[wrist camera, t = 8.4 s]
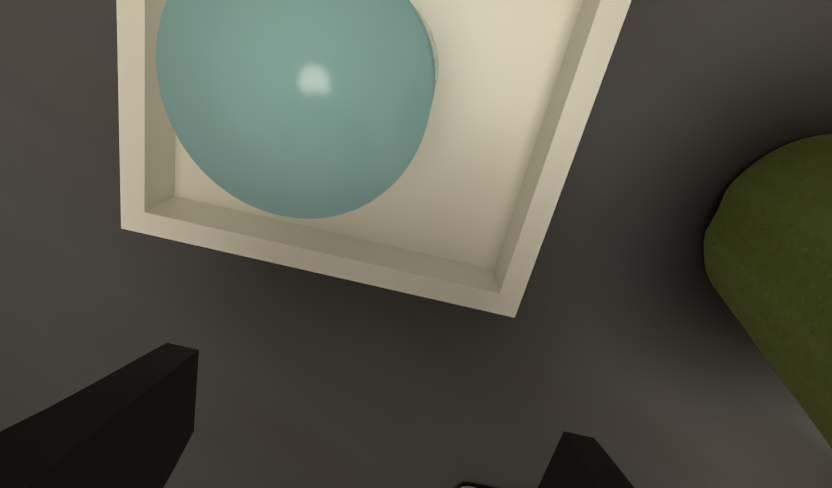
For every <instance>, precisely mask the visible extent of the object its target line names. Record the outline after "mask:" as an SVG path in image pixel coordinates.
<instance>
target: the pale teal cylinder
mask: <svg viewBox="0 0 832 488" xmlns="http://www.w3.org/2000/svg"><path fill="white" fill-rule="evenodd" d="M156 72H157V79H158V85H159V90H160V95H161V98H162V101H163V105H164V108H165V111H166V114H167V116H168V118H169V121H170V123H171V126H172V128H173V130H174V132H175V133H176V135H177V137H178V139H179V140H180V142H181V144H182V146H183V147H184V148H185V150H186V151H187V153H188V154H189V155H190V157H191V158H192V160H193V161H194V162H195V163H196V164H197V165H198V166H199V168H200V169H201V170H202V171H203V172H204V173H205V174H206V175H207V176H208V177H209V178H210V179H211V180H213V181H214V182H215V183H216V184H217V185H218V186H220V187H221V188H222V189H224V190H225V191H226V192H228V193H229V194H231V195H232V196H234V197H235V198H237V199H239V200H241V201H242V202H244V203H246V204H248V205H250V206H253V207H255V208H257V209H260V210H262V211H265V212H269V213H272V214H275V215H279V216H285V217H291V218H302V219H315V218H327V217H332V216H337V215H341V214H344V213H347V212H350V211H353V210H356V209H358V208H360V207H362V206H364V205H366V204H368V203H370V202H371V201H373V200H374V199H376V198H377V197H379V196H380V195H382V194H383V193H384V192H385V191H386V190H387V189H389V188H390V187H391V186H392V185H393V184H394V183H395V182H396V181H397V180H398V179H399V177H400V176H401V175H402V174H403V173H404V171H405V170H406V169H407V167H408V166H409V164H410V163H411V161H412V159H413V158H414V156H415V154H416V152H417V150H418V148H419V146H420V144H421V141H422V139H423V136H424V133H425V129H426V126H427V123H428V119H429V115H430V110H431V106H432V101H433V97H434V93H435V88H436V84H437V78H438V53H437V48H436V44H435V41H434V38H433V35H432V32H431V30H430V28H429V26H428V24H427V22H426V21H425V19H424V18H423V16H422V15H421V14H420V12H419V11H418V10H417V9H416V8H415V7H414V5H413V4H412V3H411V2H410V1H409V0H166V3H165V5H164V8H163V11H162V14H161V17H160V22H159V27H158V32H157V41H156Z"/></svg>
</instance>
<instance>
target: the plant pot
mask: <svg viewBox="0 0 832 488" xmlns="http://www.w3.org/2000/svg"><path fill="white" fill-rule="evenodd" d="M704 265H705V269H706V273H707V275H708V278H709V280H710V282H711V283H712V285H713V287H714V288H715V289H716V291H717V292H718V294H719V295H720V296H721V298H722V299H723V300H724V302H725V303H726V305H727V306H728V307H729V309H730V310H731V311H732V313H733V314H734V315H735V317H736V318H737V319H738V321H739V322H740V323H741V325H742V326H743V327H744V329H745V330H746V332H747V333H748V334H749V336H750V337H751V338H752V340H753V341H754V343H755V344H756V345H757V347H758V348H759V350H760V351H761V352H762V354H763V355H764V356H765V358H766V359H767V361H768V362H769V363H770V365H771V366H772V367H773V369H774V370H775V371H776V373H777V374H778V375H779V377H780V378H781V379H782V381H783V382H784V383H785V385H786V386H787V388H788V389H789V390H790V392H791V393H792V394H793V396H794V397H795V398H796V400H797V401H798V402H799V404H800V405H801V406H802V408H803V409H804V411H805V412H806V413H807V415H808V416H809V417H810V419H811V420H812V421H813V423H814V424H815V426H816V427H817V428H818V430H819V431H820V433H821V434H822V435H823V437H824V438H825V440H826V441H827V443H828V444H829V445H830V447H831V448H832V134H825V135H817V136H813V137H809V138H804V139H801V140H798V141H795V142H792V143H789V144H787V145H784V146H782V147H780V148H778V149H776V150H774V151H772V152H770V153H768V154H767V155H765V156H764V157H762V158H761V159H759V160H758V161H756V162H755V163H754V164H752V165H751V166H750V167H749V168H748V169H746V170H745V171H744V172H743V173H742V174H741V175H740V176H738V177H737V178H736V179H735V180H734V181H733V183H732V184H731V185H730V186H729V187H728V189H727V190H726V191H725V193H724V196H723V199H722V201H721V203H720V206H719V208H718V210H717V212H716V214H715V216H714V217H713V219H712V221H711V223H710V224H709V226H708V228H707V229H706V231H705V236H704Z"/></svg>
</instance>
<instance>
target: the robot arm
mask: <svg viewBox="0 0 832 488" xmlns="http://www.w3.org/2000/svg"><path fill="white" fill-rule="evenodd" d="M198 354H199V350H196V349H192V348H187V347H183V346H178V345H174V344H169V343H166V344H164V345H162V346H160V347H158V348H156V349H155V350H153V351H151V352H149V353H147V354H146V355H144V356H142V357H140V358H138V359H137V360H135V361H133V362H131V363H129V364H128V365H126V366H124V367H122V368H120V369H119V370H117V371H115V372H113V373H111V374H110V375H108V376H106V377H104V378H102V379H101V380H99V381H97V382H95V383H93V384H92V385H90V386H88V387H86V388H84V389H82V390H80V391H79V392H77V393H75V394H73V395H71V396H69V397H67V398H66V399H64V400H62V401H60V402H58V403H56V404H54V405H52V406H51V407H49V408H47V409H45V410H43V411H41V412H39V413H37V414H35V415H33V416H31V417H29V418H27V419H25V420H23V421H21V422H19V423H17V424H15V425H13V426H11V427H9V428H7V429H5V430H3V431H1V432H0V488H163V487H164V485H165V484H166V482H167V480H168V479H169V477H170V475H171V473H172V471H173V469H174V467H175V466H176V464H177V462H178V460H179V458H180V456H181V454H182V452H183V451H184V449H185V447H186V445H187V443H188V441H189V439H190V437H191V435H192V433H193V431H194V416H195V400H196V385H197V369H198ZM460 488H475V487H470V486H463V487H460ZM538 488H634V487H633V486H632V484H631V483H630V482H629V481H628V479H627V478H626V477H625V475H624V474H623V473H622V472H621V470H620V469H619V468H618V467H617V465H616V464H615V463H614V462H613V460H612V459H611V458H610V457H609V455H608V454H607V453H606V452H605V450H604V449H603V448H602V447H601V446H600V445H599V443H598V442H597V441H596V440H595V439H594V438H591V437H587V436H582V435H578V434H573V433H569V432H564V433H563V435H562V437H561V439H560V441H559V443H558V445H557V448H556V450H555V452H554V454H553V456H552V458H551V461H550V463H549V465H548V467H547V469H546V471H545V473H544V476H543V478H542V480H541V482H540V484H539V486H538Z"/></svg>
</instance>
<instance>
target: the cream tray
mask: <svg viewBox="0 0 832 488" xmlns="http://www.w3.org/2000/svg"><path fill="white" fill-rule="evenodd" d="M409 1H410V2H411V3H412V4H413V5H414V7H415V8H416V9H417V10H418V11H419V12H420V14H421V15H422V16H423V18H424V19H425V21H426V22H427V24H428V26H429V28H430V30H431V32H432V35H433V38H434V41H435V44H436V48H437V53H438V78H437V84H436V88H435V93H434V97H433V101H432V106H431V110H430V115H429V119H428V123H427V126H426V129H425V133H424V136H423V139H422V141H421V144H420V146H419V148H418V150H417V152H416V154H415V156H414V158H413V159H412V161H411V163H410V164H409V166H408V167H407V169H406V170H405V171H404V173H403V174H402V175H401V176H400V177H399V179H398V180H397V181H396V182H395V183H394V184H393V185H392V186H391V187H390V188H389V189H387V190H386V191H385V192H384V193H383V194H382V195H380V196H379V197H377V198H376V199H374V200H373V201H371V202H370V203H368V204H366V205H364V206H362V207H360V208H358V209H356V210H353V211H350V212H347V213H344V214H341V215H337V216H332V217H327V218H315V219H302V218H291V217H285V216H279V215H275V214H272V213H269V212H265V211H262V210H260V209H257V208H255V207H253V206H250V205H248V204H246V203H244V202H242V201H241V200H239V199H237V198H235V197H234V196H232V195H231V194H229V193H228V192H226V191H225V190H224V189H222V188H221V187H220V186H218V185H217V184H216V183H215V182H214V181H213V180H211V179H210V178H209V177H208V176H207V175H206V174H205V173H204V172H203V171H202V170H201V169H200V168H199V166H198V165H197V164H196V163H195V162H194V161H193V160H192V158H191V157H190V155H189V154H188V153H187V151H186V150H185V148H184V147H183V146H182V144H181V142H180V140H179V139H178V137H177V135H176V133H175V132H174V130H173V128H172V126H171V123H170V121H169V118H168V116H167V114H166V111H165V108H164V105H163V101H162V98H161V95H160V90H159V85H158V79H157V72H156V41H157V32H158V27H159V22H160V17H161V14H162V11H163V8H164V5H165V3H166V0H117V46H118V96H119V146H120V196H121V228H122V229H126V230H131V231H135V232H139V233H144V234H148V235H153V236H157V237H161V238H166V239H170V240H175V241H179V242H183V243H188V244H192V245H197V246H201V247H205V248H210V249H214V250H219V251H223V252H227V253H232V254H236V255H241V256H245V257H249V258H254V259H258V260H263V261H267V262H271V263H276V264H280V265H285V266H289V267H294V268H298V269H302V270H307V271H311V272H316V273H320V274H324V275H329V276H333V277H338V278H342V279H346V280H351V281H355V282H360V283H364V284H368V285H373V286H377V287H382V288H386V289H390V290H395V291H399V292H404V293H408V294H412V295H417V296H421V297H426V298H430V299H434V300H439V301H443V302H448V303H452V304H456V305H461V306H465V307H470V308H474V309H478V310H483V311H487V312H492V313H496V314H500V315H505V316H509V317H514V318H515V316H516V313H517V310H518V308H519V305H520V302H521V299H522V297H523V294H524V291H525V289H526V286H527V283H528V280H529V278H530V275H531V272H532V270H533V267H534V264H535V261H536V259H537V256H538V253H539V250H540V248H541V245H542V242H543V240H544V237H545V234H546V231H547V229H548V226H549V223H550V221H551V218H552V215H553V212H554V210H555V207H556V204H557V202H558V199H559V196H560V193H561V191H562V188H563V185H564V182H565V180H566V177H567V174H568V172H569V169H570V166H571V163H572V161H573V158H574V155H575V153H576V150H577V147H578V144H579V142H580V139H581V136H582V134H583V131H584V128H585V125H586V123H587V120H588V117H589V114H590V112H591V109H592V106H593V104H594V101H595V98H596V95H597V93H598V90H599V87H600V85H601V82H602V79H603V76H604V74H605V71H606V68H607V66H608V63H609V60H610V57H611V55H612V52H613V49H614V46H615V44H616V41H617V38H618V36H619V33H620V30H621V27H622V25H623V22H624V19H625V17H626V14H627V11H628V8H629V6H630V3H631V0H409Z"/></svg>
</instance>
